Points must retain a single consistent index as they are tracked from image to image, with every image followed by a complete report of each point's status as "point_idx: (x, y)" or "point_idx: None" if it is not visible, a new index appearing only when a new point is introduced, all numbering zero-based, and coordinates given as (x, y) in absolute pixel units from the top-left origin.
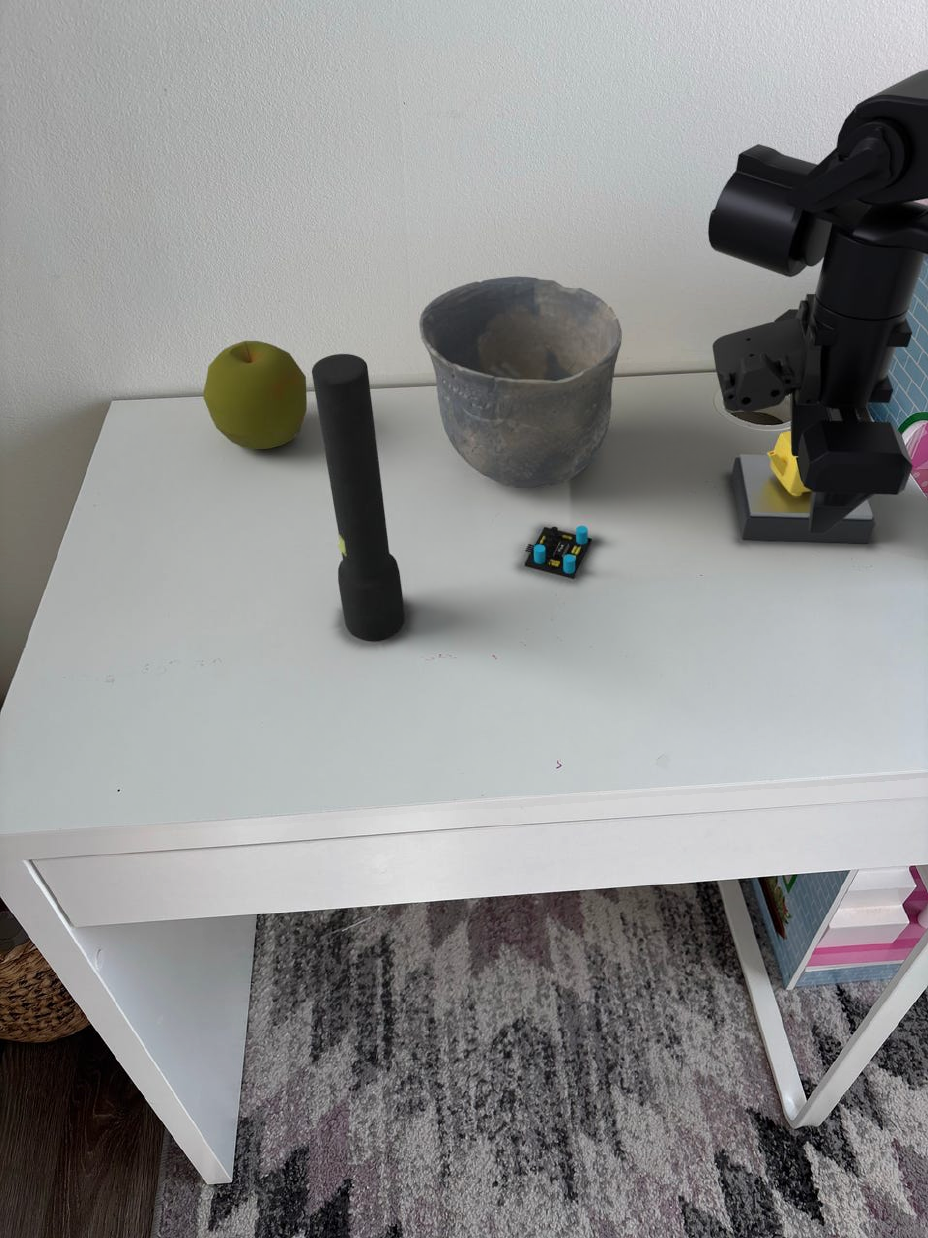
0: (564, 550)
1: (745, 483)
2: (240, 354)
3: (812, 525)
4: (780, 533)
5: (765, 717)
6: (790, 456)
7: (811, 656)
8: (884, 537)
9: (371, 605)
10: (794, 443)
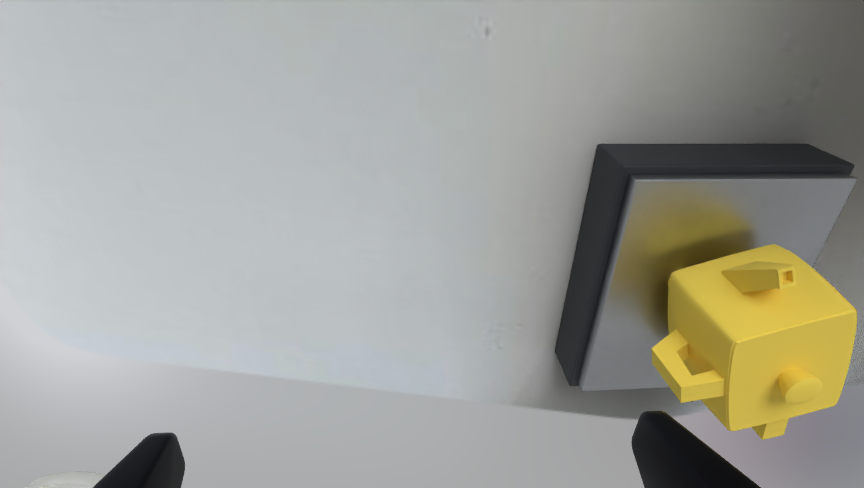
0: None
1: (744, 179)
2: None
3: (101, 482)
4: (589, 225)
5: (55, 128)
6: (759, 314)
7: (258, 234)
8: None
9: None
10: (673, 461)
